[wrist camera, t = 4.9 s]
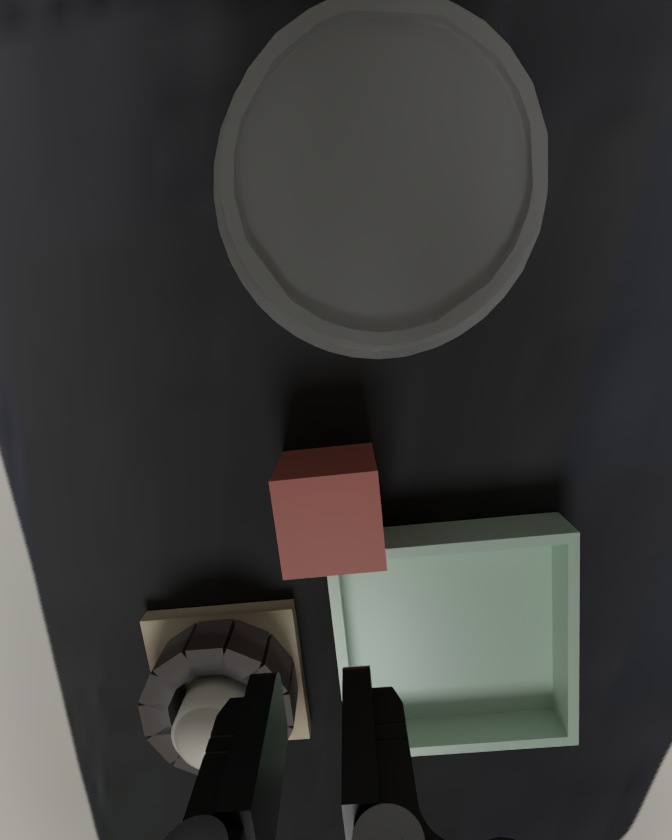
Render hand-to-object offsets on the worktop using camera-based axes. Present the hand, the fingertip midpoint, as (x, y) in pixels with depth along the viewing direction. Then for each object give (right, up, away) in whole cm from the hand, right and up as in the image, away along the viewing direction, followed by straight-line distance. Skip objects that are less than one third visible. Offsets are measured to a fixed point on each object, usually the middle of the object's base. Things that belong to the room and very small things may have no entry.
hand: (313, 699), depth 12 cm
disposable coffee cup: (+2, +16, +12) cm, 20 cm away
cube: (0, +3, +15) cm, 15 cm away
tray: (+7, -5, +16) cm, 18 cm away
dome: (-6, -9, +15) cm, 19 cm away
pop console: (-6, -8, +17) cm, 20 cm away
